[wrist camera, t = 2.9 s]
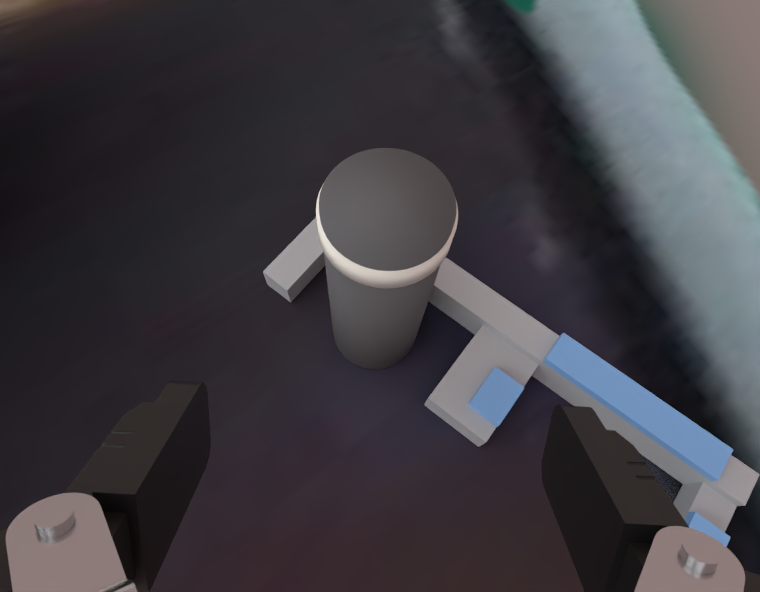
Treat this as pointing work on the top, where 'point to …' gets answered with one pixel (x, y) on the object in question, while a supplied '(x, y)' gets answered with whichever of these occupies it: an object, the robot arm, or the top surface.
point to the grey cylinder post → (383, 249)
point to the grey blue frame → (551, 386)
